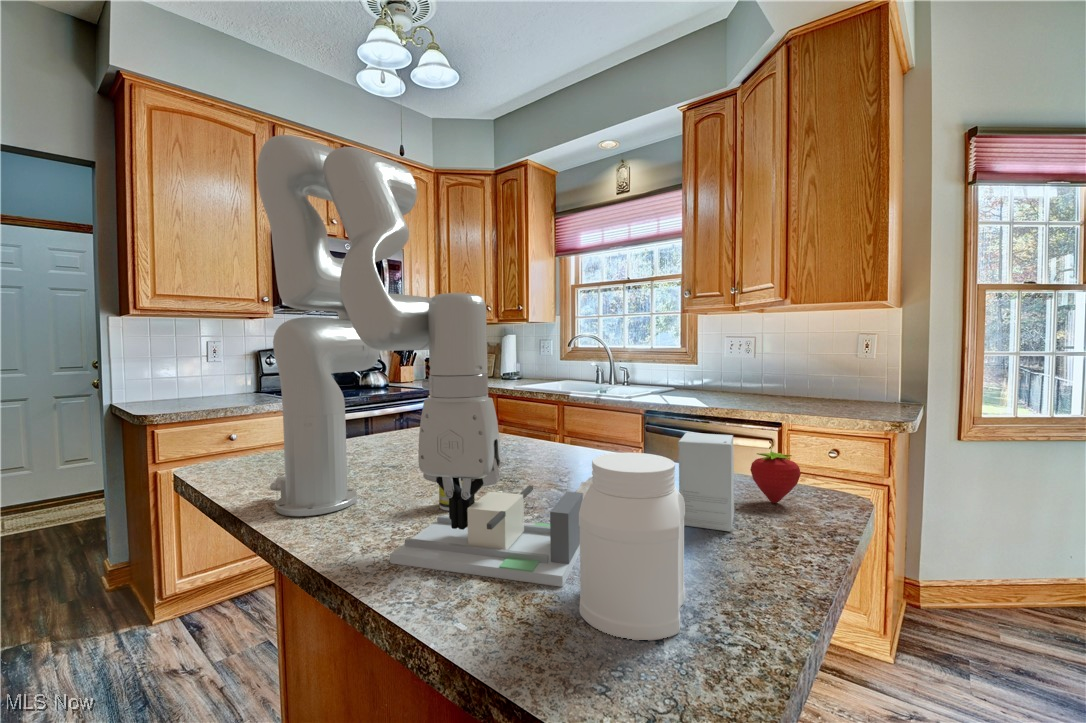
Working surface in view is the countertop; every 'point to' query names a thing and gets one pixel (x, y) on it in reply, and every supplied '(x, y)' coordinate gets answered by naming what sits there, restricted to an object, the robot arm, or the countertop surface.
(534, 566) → the board
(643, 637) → the jar
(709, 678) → the countertop surface
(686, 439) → the supplement box
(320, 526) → the countertop surface
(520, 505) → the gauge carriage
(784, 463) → the strawberry
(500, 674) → the countertop surface
